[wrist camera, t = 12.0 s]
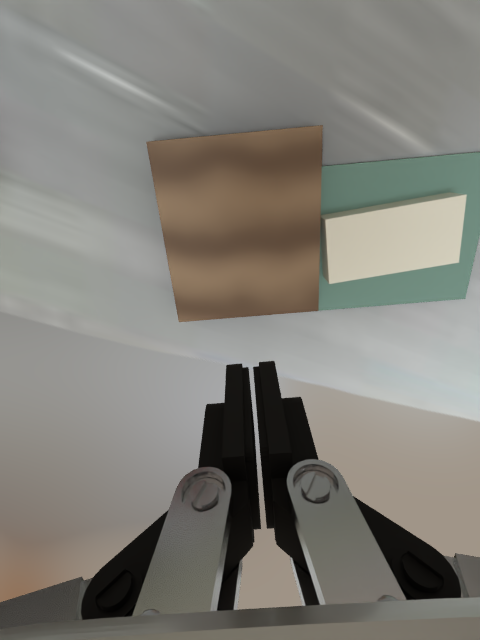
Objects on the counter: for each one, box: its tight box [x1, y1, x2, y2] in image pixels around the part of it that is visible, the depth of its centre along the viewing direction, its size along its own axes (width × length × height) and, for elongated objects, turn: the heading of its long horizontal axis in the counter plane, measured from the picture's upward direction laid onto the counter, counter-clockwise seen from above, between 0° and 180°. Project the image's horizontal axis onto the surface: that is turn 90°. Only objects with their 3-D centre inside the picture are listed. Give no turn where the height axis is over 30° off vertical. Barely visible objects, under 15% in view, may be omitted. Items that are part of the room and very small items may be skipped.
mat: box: [318, 152, 480, 311], centre depth 32 cm, size 14×16×1 cm
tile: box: [320, 192, 467, 284], centre depth 31 cm, size 6×12×2 cm, turn 100°
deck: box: [146, 125, 323, 322], centre depth 31 cm, size 16×14×2 cm
